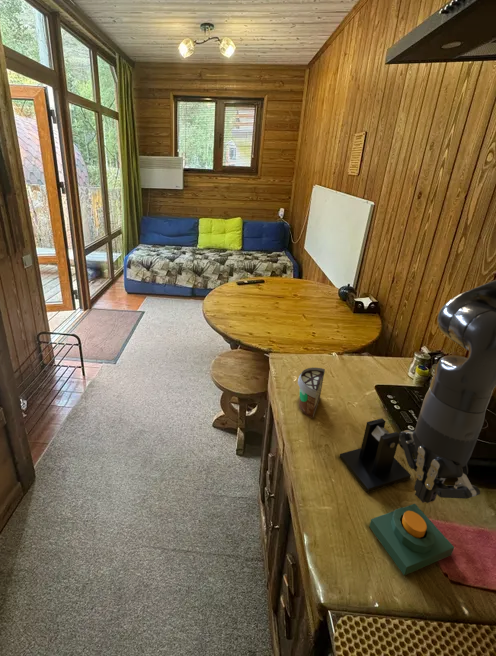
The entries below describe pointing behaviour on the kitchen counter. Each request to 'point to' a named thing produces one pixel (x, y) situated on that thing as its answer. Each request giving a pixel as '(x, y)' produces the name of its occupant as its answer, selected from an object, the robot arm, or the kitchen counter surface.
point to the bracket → (376, 460)
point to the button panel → (410, 540)
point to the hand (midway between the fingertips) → (422, 497)
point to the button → (414, 524)
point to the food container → (310, 389)
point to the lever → (380, 432)
